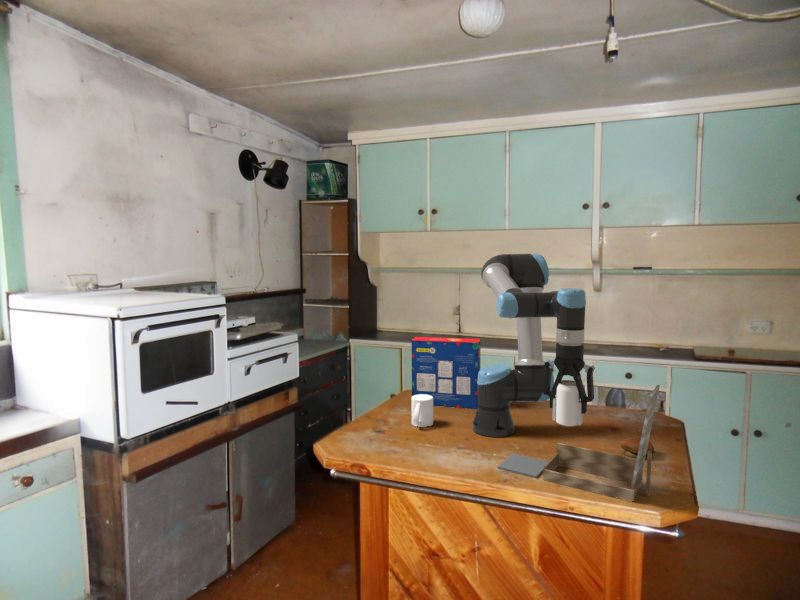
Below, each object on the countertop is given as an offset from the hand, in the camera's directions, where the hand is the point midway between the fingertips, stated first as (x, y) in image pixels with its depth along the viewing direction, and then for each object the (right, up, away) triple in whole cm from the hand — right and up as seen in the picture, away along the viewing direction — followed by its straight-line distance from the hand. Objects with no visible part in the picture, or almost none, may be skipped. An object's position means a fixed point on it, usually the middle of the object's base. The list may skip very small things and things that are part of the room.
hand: (567, 421), depth 151 cm
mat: (-11, -15, +8) cm, 20 cm away
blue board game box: (-29, -10, +71) cm, 77 cm away
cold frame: (+7, -17, -4) cm, 19 cm away
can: (0, -1, 0) cm, 1 cm away
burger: (+28, -15, +17) cm, 36 cm away
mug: (-41, -12, +46) cm, 62 cm away
